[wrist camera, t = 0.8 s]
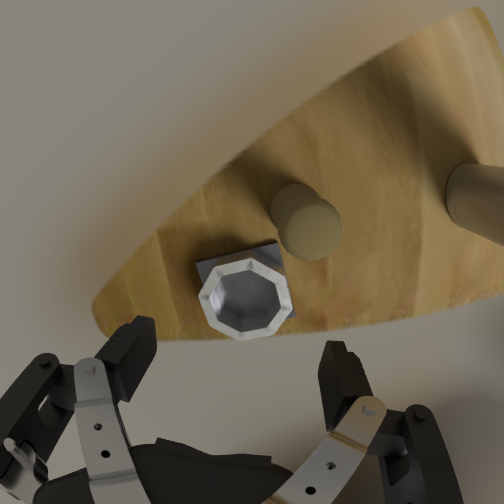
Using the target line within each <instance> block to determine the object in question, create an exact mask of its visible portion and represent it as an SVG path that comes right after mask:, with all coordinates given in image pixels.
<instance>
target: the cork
mask: <svg viewBox="0 0 504 504" xmlns="http://www.w3.org/2000/svg"><path fill="white" fill-rule="evenodd" d="M270 214H271V217H272V220H273V223H274V224H275V225H276V227H277V228H278V235H279V238H280V241H281V244H282V245H283V246H284V248H285V249H286V250H287V252H289V253H290V254H292V255H293V256H294V257H296V258H299V259H302V260H305V261H313V260H318V259H321V258H324V257H326V256H327V255H329V254H330V253H331V252H333V250H334V249H335V248H336V246H337V245H338V243H339V241H340V238H341V235H342V223H341V219H340V216H339V214H338V212H337V210H336V209H335V207H334V206H333V205H331V204H330V203H329V202H328V201H326V200H325V199H322V198H320V197H319V195H318V194H317V193H316V191H314V190H313V189H312V188H310V187H309V186H306V185H303V184H290V185H287V186H284V187H283V188H282V189H280V190H279V191H278V192H277V193H276V195H275V196H274V197H273V199H272V203H271V206H270Z"/></svg>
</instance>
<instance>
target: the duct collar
mask: <svg viewBox="0 0 504 504" xmlns="http://www.w3.org/2000/svg"><path fill="white" fill-rule="evenodd" d="M195 264H196V267H197V270H198V272H199V275H200V278H201V281H202V284H203V287H202V289H201V291H200V293H199V295H198V297H199V300H200V303H201V305H202V308H203V310H204V313H205V315H206V318H207V321H208V323H209V326H211V327H213V328H214V329H216V330H218V331H220V332H222V333H224V334H226V335H228V336H230V337H232V338H234V339H236V340H239V341H244V340H250V339H255V338H260V337H265V336H270V335H273V334H274V333H275V332H276V331H277V329H278V328H279V327H280V325H281V324H282V323H283V322H284V320H285V319H288V318H293V317H296V316H295V312H294V307H293V303H292V299H291V295H290V290H289V286H288V282H287V278H286V274H285V270H284V265H283V261H282V257H281V253H280V249H279V245H278V241H277V242H273V243H269V244H265V245H261V246H257V247H253V248H249V249H245V250H241V251H237V252H233V253H228V254H224V255H220V256H216V257H212V258H208V259H204V260H200V261H196V263H195Z"/></svg>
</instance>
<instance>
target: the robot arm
mask: <svg viewBox="0 0 504 504" xmlns="http://www.w3.org/2000/svg"><path fill="white" fill-rule="evenodd" d="M446 204H447V209H448V212H449V215H450V217H451V219H452V220H453V221H454V223H455V224H457V225H458V226H459V227H462V228H464V229H466V230H469V231H471V232H473V233H476V234H478V235H480V236H482V237H484V238H487V239H489V240H491V241H493V242H495V243H497V244H499V245H502V246H504V167H498V166H490V165H482V164H471V163H464V164H461V165H459V166H457V167H456V168H455V169H454V170H453V172H452V173H451V175H450V178H449V180H448V184H447V188H446ZM156 351H157V340H156V331H155V322H154V319H153V318H150V317H145V316H140V315H138V316H137V317H136V318H135V319H134V320H133V321H132V323H131V324H129V323H126V324H124V325H123V326H121V327H119V328H118V329H117V330H116V331H115V333H114V334H113V335H112V336H111V337H110V339H109V341H107V342H106V343H105V345H104V346H103V347H102V348H101V349H100V351H99V352H98V353H97V354H96V355H95V357H94V358H91V357H89V358H84V359H81V360H80V361H78V362H77V363H76V364H75V365H65V364H60V362H59V360H58V358H57V357H56V355H54V354H51V353H43V354H40V355H38V356H37V357H35V358H34V359H33V361H32V362H31V363H30V364H29V365H28V366H27V367H26V369H25V370H24V371H23V372H22V373H21V374H20V376H19V377H18V378H17V379H16V380H15V381H14V383H13V384H12V385H11V386H10V387H9V389H8V390H7V391H6V392H5V394H4V395H3V396H2V397H1V399H0V488H1V489H2V490H4V491H6V492H7V493H9V494H10V495H11V496H13V497H14V498H16V499H18V500H22V501H24V502H25V503H27V504H331V503H332V501H333V500H334V499H335V497H336V496H337V495H338V494H339V492H340V491H341V490H342V488H343V487H344V485H345V484H346V483H347V481H348V480H349V478H350V477H351V475H352V474H353V472H354V471H355V469H356V468H357V466H358V465H359V463H360V462H361V460H362V458H363V457H364V455H365V454H368V455H375V456H378V460H379V465H380V471H381V477H382V483H383V490H384V497H385V504H464V503H463V499H462V495H461V492H460V489H459V485H458V481H457V478H456V475H455V472H454V469H453V466H452V463H451V460H450V457H449V454H448V451H447V449H446V446H445V443H444V440H443V438H442V435H441V433H440V430H439V428H438V425H437V423H436V420H435V418H434V415H433V414H432V412H431V410H430V409H428V408H427V407H425V406H423V405H419V404H415V405H411V406H409V407H408V408H407V409H406V411H405V412H400V411H394V410H389V409H386V406H385V404H384V403H383V402H382V401H381V400H380V399H378V398H376V397H374V396H373V394H372V391H371V388H370V385H369V382H368V380H367V377H366V375H365V371H364V369H363V366H362V363H361V361H360V359H359V358H358V357H357V356H356V355H355V354H354V353H353V352H347V349H346V346H345V343H344V342H343V341H327V342H326V345H325V348H324V351H323V355H322V358H321V361H320V364H319V369H318V380H319V386H320V392H321V398H322V404H323V410H324V417H325V423H326V430H327V432H330V433H329V435H328V436H327V437H326V438H325V439H324V441H323V442H322V443H321V444H320V445H319V447H318V448H317V449H316V450H315V451H314V453H313V454H312V455H311V456H310V457H309V458H308V459H307V460H306V461H305V463H304V464H303V465H302V466H301V467H300V468H299V469H298V470H297V471H296V472H295V473H293V472H291V471H290V470H288V469H286V468H284V467H281V466H279V465H276V464H273V463H271V456H262V455H252V454H231V455H209V454H207V453H204V452H202V451H199V450H197V449H194V448H192V447H190V446H187V445H185V444H182V443H177V442H174V441H170V440H166V439H161V438H157V440H156V443H155V444H142V445H136V446H132V445H131V443H130V440H129V438H128V435H127V432H126V430H125V427H124V424H123V421H122V418H121V415H120V412H119V408H118V403H119V401H120V400H122V401H125V402H129V401H130V400H131V398H132V396H133V394H134V392H135V390H136V388H137V387H138V385H139V383H140V382H141V380H142V378H143V376H144V374H145V373H146V371H147V369H148V367H149V366H150V364H151V362H152V360H153V358H154V356H155V354H156ZM46 396H47V400H46V401H45V403H44V404H43V406H42V407H41V408H40V410H39V411H38V408H39V405H40V404H41V402H42V401H43V400H44V398H45V397H46ZM74 412H75V415H76V421H77V427H78V433H79V438H80V442H81V447H82V452H83V456H84V460H85V464H86V467H85V468H83V469H80V470H78V471H75V472H72V473H70V474H67V475H65V476H62V477H59V478H56V479H53V480H50V481H49V478H48V468H47V465H46V463H47V460H48V459H49V457H50V455H51V453H52V451H53V449H54V447H55V445H56V444H57V442H58V440H59V438H60V436H61V435H62V433H63V431H64V429H65V427H66V426H67V424H68V422H69V420H70V419H71V417H72V415H73V414H74ZM332 431H333V432H332Z"/></svg>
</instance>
